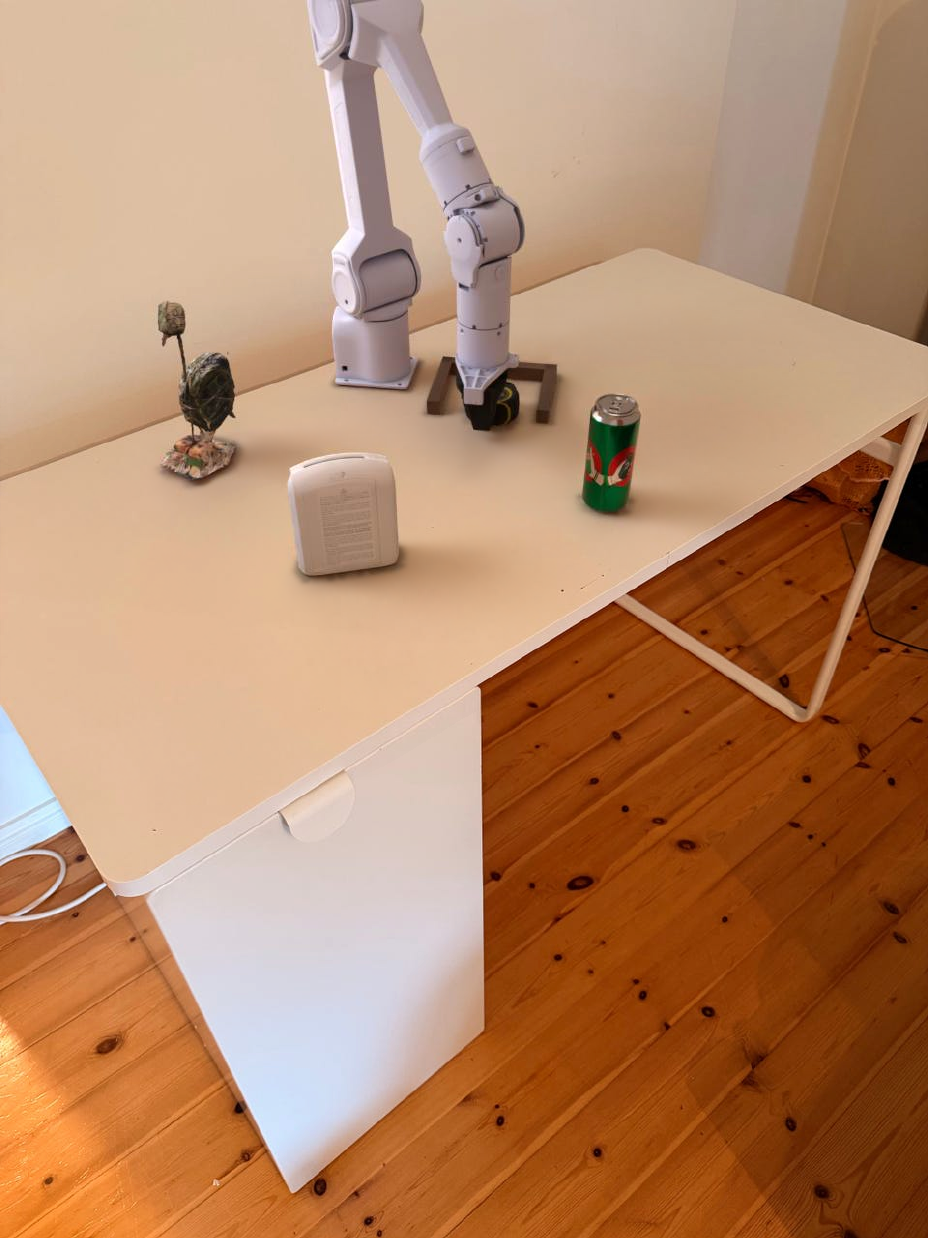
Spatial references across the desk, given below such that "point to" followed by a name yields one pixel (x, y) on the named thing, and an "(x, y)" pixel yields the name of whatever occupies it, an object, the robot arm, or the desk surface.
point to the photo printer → (343, 513)
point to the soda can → (610, 452)
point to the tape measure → (504, 406)
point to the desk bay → (521, 372)
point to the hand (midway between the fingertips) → (482, 427)
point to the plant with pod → (199, 402)
